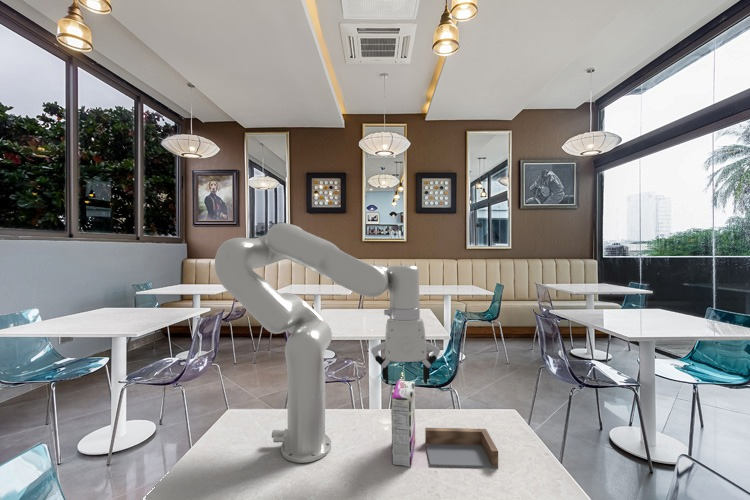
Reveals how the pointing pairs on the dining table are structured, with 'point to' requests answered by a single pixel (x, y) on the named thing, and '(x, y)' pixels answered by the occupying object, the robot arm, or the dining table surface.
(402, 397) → the candy bar box
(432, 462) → the slate mat
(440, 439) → the walnut corner walls
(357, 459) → the dining table surface
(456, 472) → the dining table surface
